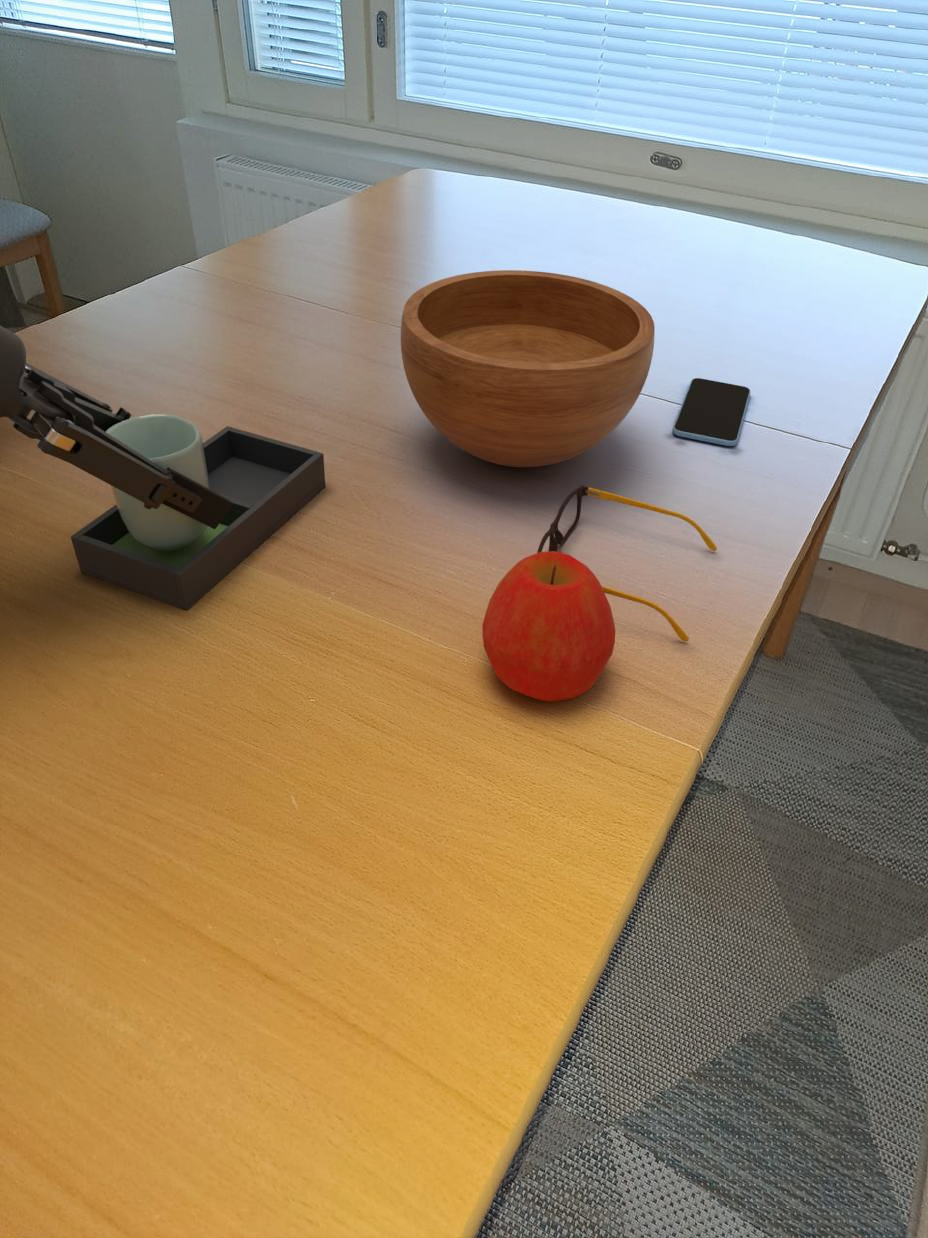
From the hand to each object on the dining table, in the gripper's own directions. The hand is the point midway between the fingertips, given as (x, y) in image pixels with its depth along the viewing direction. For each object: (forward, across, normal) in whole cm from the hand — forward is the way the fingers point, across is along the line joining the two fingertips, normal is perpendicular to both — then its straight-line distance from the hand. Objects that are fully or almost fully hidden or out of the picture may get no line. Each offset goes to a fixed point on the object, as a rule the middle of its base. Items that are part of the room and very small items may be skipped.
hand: (201, 491), depth 80 cm
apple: (+15, -30, -7) cm, 34 cm away
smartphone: (+46, -6, -38) cm, 60 cm away
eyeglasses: (+25, -24, -16) cm, 38 cm away
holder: (+5, +3, +3) cm, 6 cm away
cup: (0, 0, +5) cm, 5 cm away
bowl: (+29, -1, -20) cm, 35 cm away
